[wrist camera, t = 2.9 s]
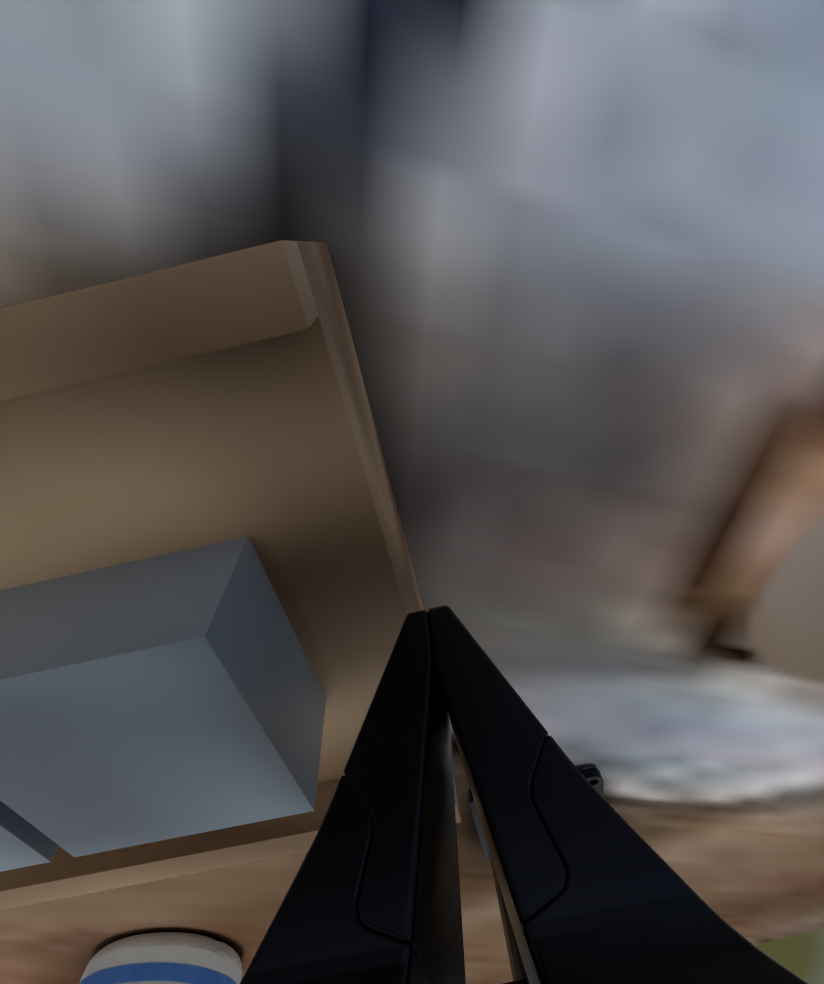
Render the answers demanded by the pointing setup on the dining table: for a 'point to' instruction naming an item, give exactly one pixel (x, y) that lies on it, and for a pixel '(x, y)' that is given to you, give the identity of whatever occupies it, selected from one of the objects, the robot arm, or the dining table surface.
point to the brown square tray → (207, 488)
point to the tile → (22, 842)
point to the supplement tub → (164, 961)
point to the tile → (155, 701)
